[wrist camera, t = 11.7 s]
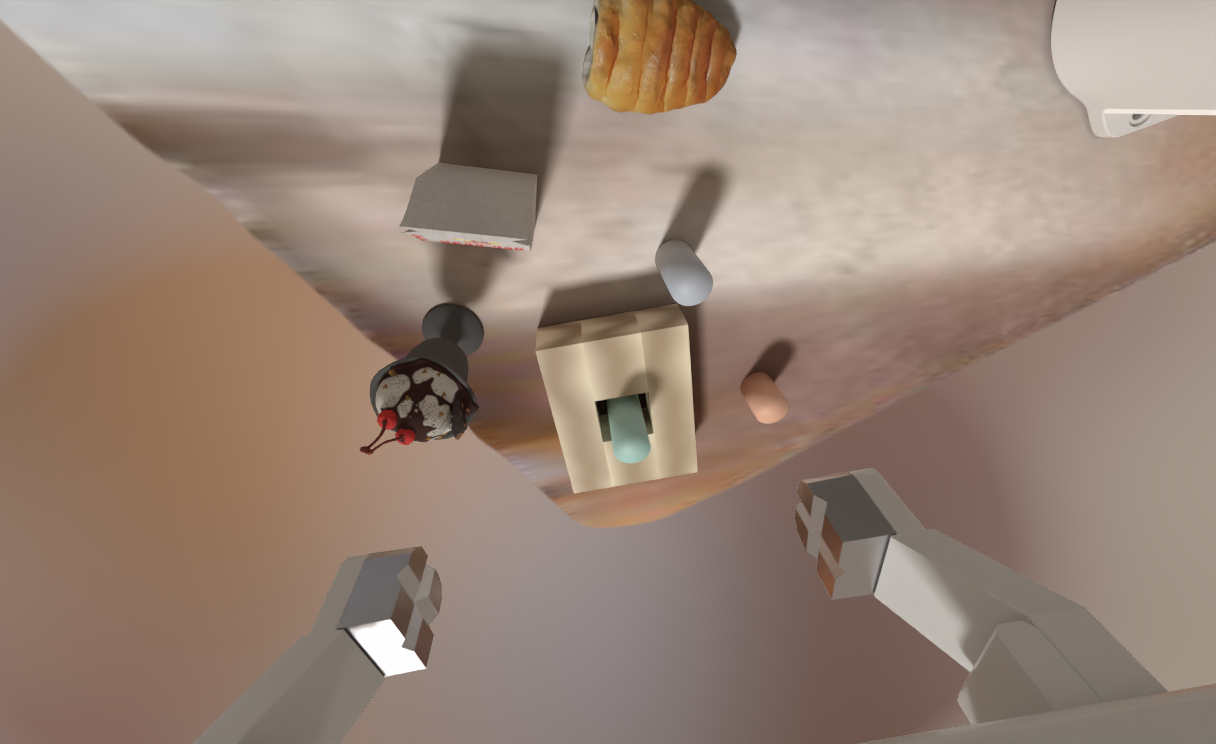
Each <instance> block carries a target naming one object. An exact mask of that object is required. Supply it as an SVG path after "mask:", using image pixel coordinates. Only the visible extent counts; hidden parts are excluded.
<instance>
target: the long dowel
mask: <svg viewBox="0 0 1216 744" xmlns="http://www.w3.org/2000/svg"><path fill="white" fill-rule="evenodd" d="M606 404H607V411H608V417H609V424H610V431H611V438H612V445H613V452H614V455H615V457H616V458H617V459H618V460H619V461H621V462H624V463H637V462H640V461H642V460H643V459H645V458H646V457H647V456H648V455H649V453H650V450H651V445H650V441H649V437H648V433H647V429H646V425H645V421H644V417H643V413H642V409H641V405H640V401H639V397H638V394H635V395H629V396H623V397H617V398H611V399H606Z"/></svg>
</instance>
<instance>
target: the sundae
mask: <svg viewBox="0 0 1216 744" xmlns="http://www.w3.org/2000/svg"><path fill="white" fill-rule="evenodd" d="M422 332H423V335H424V338H425V341H423V342H422V343H420V344H419V345H418V346H416V347H415V348H414V349H413V350H412V351H411V352H410V353H409V354H408V355H407V356H406V357H405V358H404V359H401V360H398V361H395V362H393V363H391V364H389V365H387V366H386V367H384V368H383V369H381V370H380V371H379V372H378V373H377V374H376V375H375V376H374V378H373V380H372V381H371V385H370V398H371V403H372V406H373V409H374V411H375V413H376V415H377V417H378V418H377V422H378V424H379V425H380V426H381V427H382V430H381V433H380V435H379V436H378V437H377V438H376V440H375V441H374V442H373V443H371V444H370V445H369V446H367V447H366V446H364V447H361V449H360V451H361V452H363V453H366V454H368V455H370V454H372V453H373V451H374V450H376V449H377V448H379V447H380V446H381V445H383V444H385V443H388V442H391V441H396V440H397V441H398V442H399V443H401V444H404V445H408V444H410V443H411V442H413V441H415V442H427V441H430V440H437V439H438V440H440V439H447V438H450V437H453V436H454V437H455V438H456V439H459V438H460V437H461V436H462V435H463V433H464V431H465V430H466V429H467V426H468V424H469V423H470V422H471V420H472V419H473V417H474V414H475V412H476V411H477V410H478V408H479V406H478V405H477V403H476V398H475V395H474V393H473V391H472V390H471V388H470V386H469V385H468V384H467V378H468V361H467V357H466V356H468V355H470V354H472V353H473V352H475V351H476V350H477V349H478V348H479V346H480V345H481V343H482V340H483V329H482V325H481V323H480V321H479V320H478V318H477V317H476V316H475V315H474V314H473V313H472V312H470V311H469V310H467V309H465V308H463V307H460V306H457V305H450V304H449V305H441V306H437V307H436V308H434V309H432V310H431V311H429V312H428V313H427V315H426V316H425V318H424V320H423V324H422ZM385 429H387V430H389V429H391V430H393V431H395V432H396V438H394V439H391V440H387V441H385V442H383V443H382V444H380V445H378V446H377V447H375V448H374V449H372V450H370V447H371V446H372V445H374V444H375V443H376V442H377V441H378V440H379V438H380V437H381V436H382V435H383V433H384V431H385Z"/></svg>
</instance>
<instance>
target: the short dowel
mask: <svg viewBox="0 0 1216 744" xmlns="http://www.w3.org/2000/svg"><path fill="white" fill-rule="evenodd" d="M741 392H742V394H743V396H744V397H745V399H746V401H747V403H748V404H749V406H750V408H751V409H752V411H753V413H754V415H755V416H756V418H757V419H758V420H759V421H760V422H762V423H774V422H777V421H779V420H780V419H782V418H783V417H784V416H785V415H786V413H787V411H788V408H789V405H788V402H787V400H786V399H785V398H784V396H783V395H782V393H781V392H780V391H779V389H778V388H777V386H776V385H775V383H774V382H773V381H772V379H771V378H770V376H769V375H768V374H766V373H763V372H755V373H752V374H750V375H748V376H747V377H746V378H745V379H744V380H743V382H742V384H741Z"/></svg>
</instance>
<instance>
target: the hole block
mask: <svg viewBox="0 0 1216 744" xmlns="http://www.w3.org/2000/svg"><path fill="white" fill-rule="evenodd" d="M536 355H537V358H538V362H539V366H540V369H541V373H542V377H543V380H544V384H545V388H546V391H547V395H548V399H549V403H550V406H551V410H552V414H553V417H554V421H555V425H556V428H557V432H558V436H559V439H560V443H561V447H562V450H563V454H564V458H565V461H566V465H567V469H568V472H569V476H570V480H571V483H572V487H573V491H574V493H579V492H585V491H590V490H596V489H602V488H608V487H614V486H619V485H625V484H631V483H637V482H643V481H649V480H654V479H660V478H666V477H672V476H678V475H683V474H689V473H695V472H697V458H696V442H695V426H694V410H693V394H692V378H691V363H690V347H689V331H688V323H687V321H686V319H685V318H684V316H683V314H682V312H681V310H680V308H679V306H678V304H671V305H666V306H660V307H654V308H648V309H643V310H637V311H631V312H625V313H620V314H614V315H608V316H603V317H597V318H591V319H585V320H580V321H574V322H568V323H563V324H557V325H551V326H545V327H540V328H538V330H537V340H536ZM640 393H645V398H646V406H647V407H644V408H641V409H642V413H643V417H644V421H645V425H646V429H647V433H648V437H649V441H650V445H651V450H650V453H649V455H648V456H647V457H646V458H645V459H643V460H642V461H640V462H637V463H624V462H621V461H619V460H618V459H617V458H616V457H615V455H614V452H613V445H612V438H611V431H610V424H609V417H608V414H603V415H600V414H599V409H598V404H597V401H600V400H606V399H611V398H617V397H623V396H629V395H635V394H640Z"/></svg>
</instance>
